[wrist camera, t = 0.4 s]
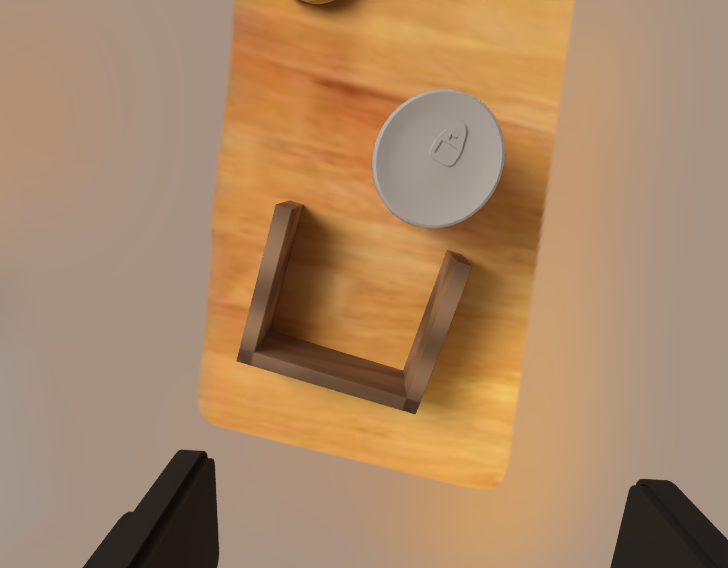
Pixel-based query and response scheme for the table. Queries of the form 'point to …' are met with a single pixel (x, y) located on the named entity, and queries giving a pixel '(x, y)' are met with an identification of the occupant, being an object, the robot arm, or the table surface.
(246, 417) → the table surface
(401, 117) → the canned food
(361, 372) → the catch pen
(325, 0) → the bread roll
